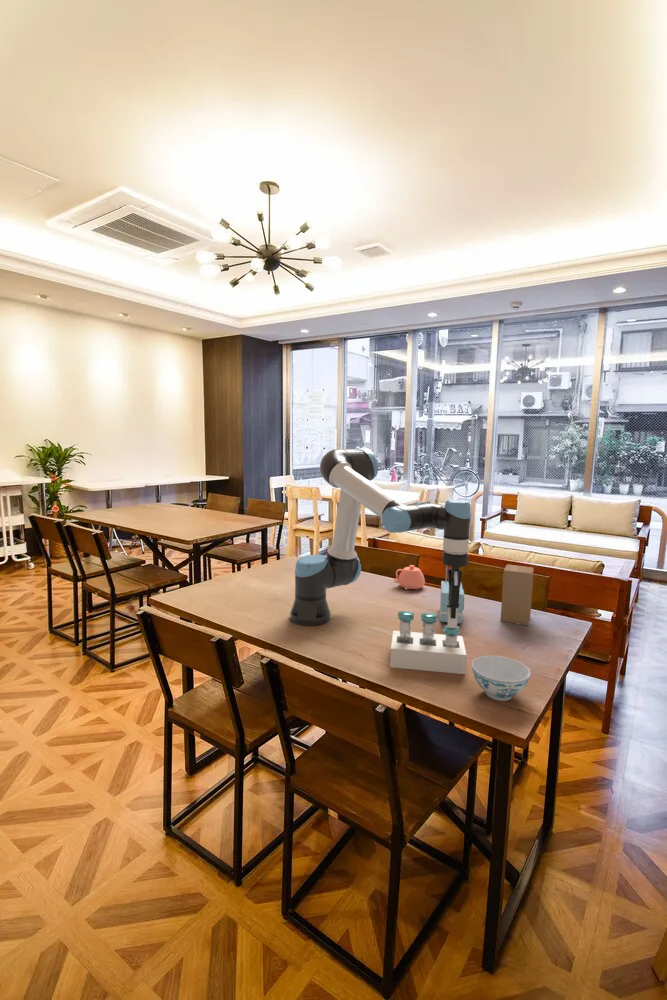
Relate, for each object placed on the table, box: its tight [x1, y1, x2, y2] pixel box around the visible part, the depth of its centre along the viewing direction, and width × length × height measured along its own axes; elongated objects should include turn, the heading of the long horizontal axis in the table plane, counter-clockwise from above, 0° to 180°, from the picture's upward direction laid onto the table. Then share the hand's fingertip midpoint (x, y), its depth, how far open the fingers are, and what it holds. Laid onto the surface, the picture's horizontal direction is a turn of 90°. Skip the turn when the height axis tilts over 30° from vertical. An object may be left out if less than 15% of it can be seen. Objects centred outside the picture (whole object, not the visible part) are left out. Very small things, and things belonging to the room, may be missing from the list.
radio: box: [439, 565, 465, 625], centre depth 193 cm, size 16×9×20 cm, turn 168°
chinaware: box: [471, 655, 531, 702], centre depth 136 cm, size 15×15×8 cm
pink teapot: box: [393, 564, 426, 590], centre depth 230 cm, size 12×14×10 cm
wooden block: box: [500, 564, 535, 626], centre depth 192 cm, size 10×10×20 cm
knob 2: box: [443, 624, 461, 648], centre depth 154 cm, size 5×5×9 cm
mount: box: [389, 630, 467, 675], centre depth 156 cm, size 22×14×6 cm, turn 80°
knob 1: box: [397, 610, 415, 644], centre depth 156 cm, size 5×5×9 cm
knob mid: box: [420, 612, 438, 646], centre depth 155 cm, size 5×5×9 cm
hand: (452, 627), depth 154 cm, fingers closed
